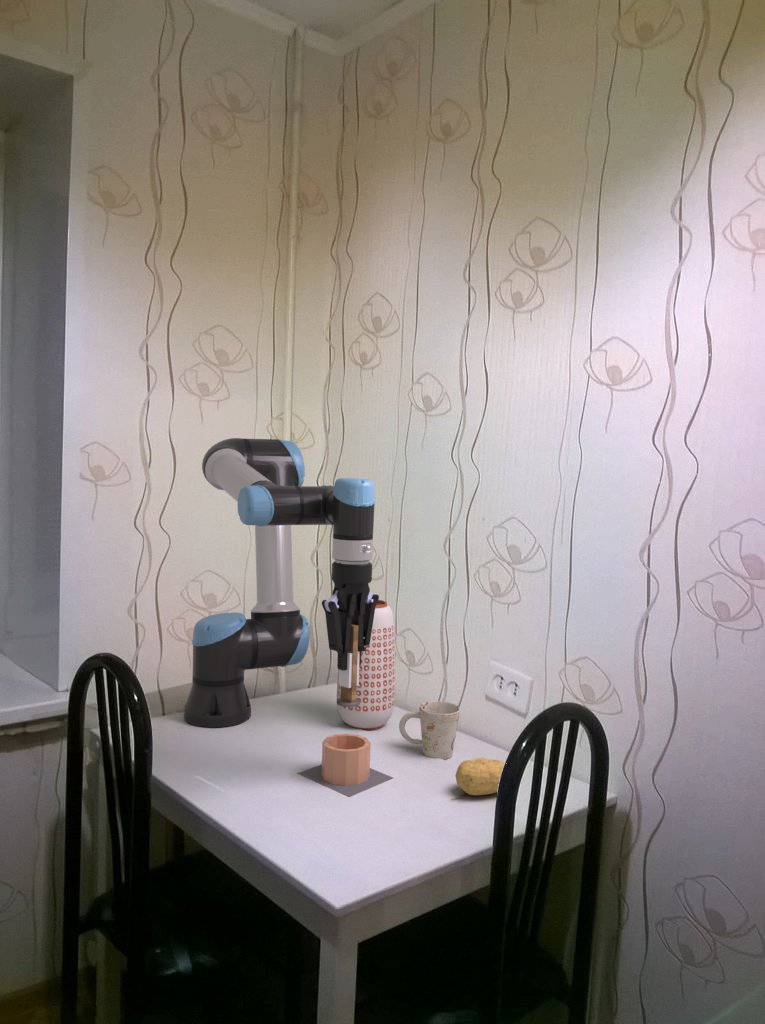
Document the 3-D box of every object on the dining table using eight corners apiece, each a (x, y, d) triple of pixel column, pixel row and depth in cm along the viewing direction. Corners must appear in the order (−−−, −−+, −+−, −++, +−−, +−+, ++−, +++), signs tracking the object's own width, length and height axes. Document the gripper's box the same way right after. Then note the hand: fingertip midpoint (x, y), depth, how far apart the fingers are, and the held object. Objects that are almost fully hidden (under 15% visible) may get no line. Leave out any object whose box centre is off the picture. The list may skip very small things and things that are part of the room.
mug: (455, 764, 156) (457, 715, 155) (394, 757, 158) (395, 709, 157) (459, 749, 164) (461, 703, 163) (401, 743, 166) (403, 697, 165)
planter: (324, 721, 178) (327, 600, 175) (367, 710, 187) (371, 594, 184) (361, 738, 168) (366, 610, 166) (406, 725, 177) (410, 603, 175)
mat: (297, 775, 148) (297, 773, 148) (342, 758, 157) (342, 756, 157) (349, 799, 138) (349, 796, 138) (393, 779, 147) (393, 777, 147)
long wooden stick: (331, 702, 146) (333, 624, 145) (348, 697, 149) (350, 621, 148) (348, 708, 143) (350, 628, 142) (364, 703, 146) (367, 625, 145)
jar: (312, 774, 147) (313, 741, 147) (345, 762, 154) (346, 730, 153) (345, 789, 141) (346, 755, 141) (378, 776, 148) (379, 742, 147)
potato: (448, 788, 144) (449, 755, 144) (502, 782, 148) (504, 750, 147) (462, 803, 138) (463, 769, 138) (518, 798, 141) (520, 764, 141)
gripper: (338, 566, 137) (335, 697, 138) (392, 560, 147) (388, 682, 149) (310, 561, 142) (307, 688, 143) (364, 556, 152) (360, 674, 154)
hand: (348, 685), depth 146 cm, fingers closed on long wooden stick, 1 cm apart
